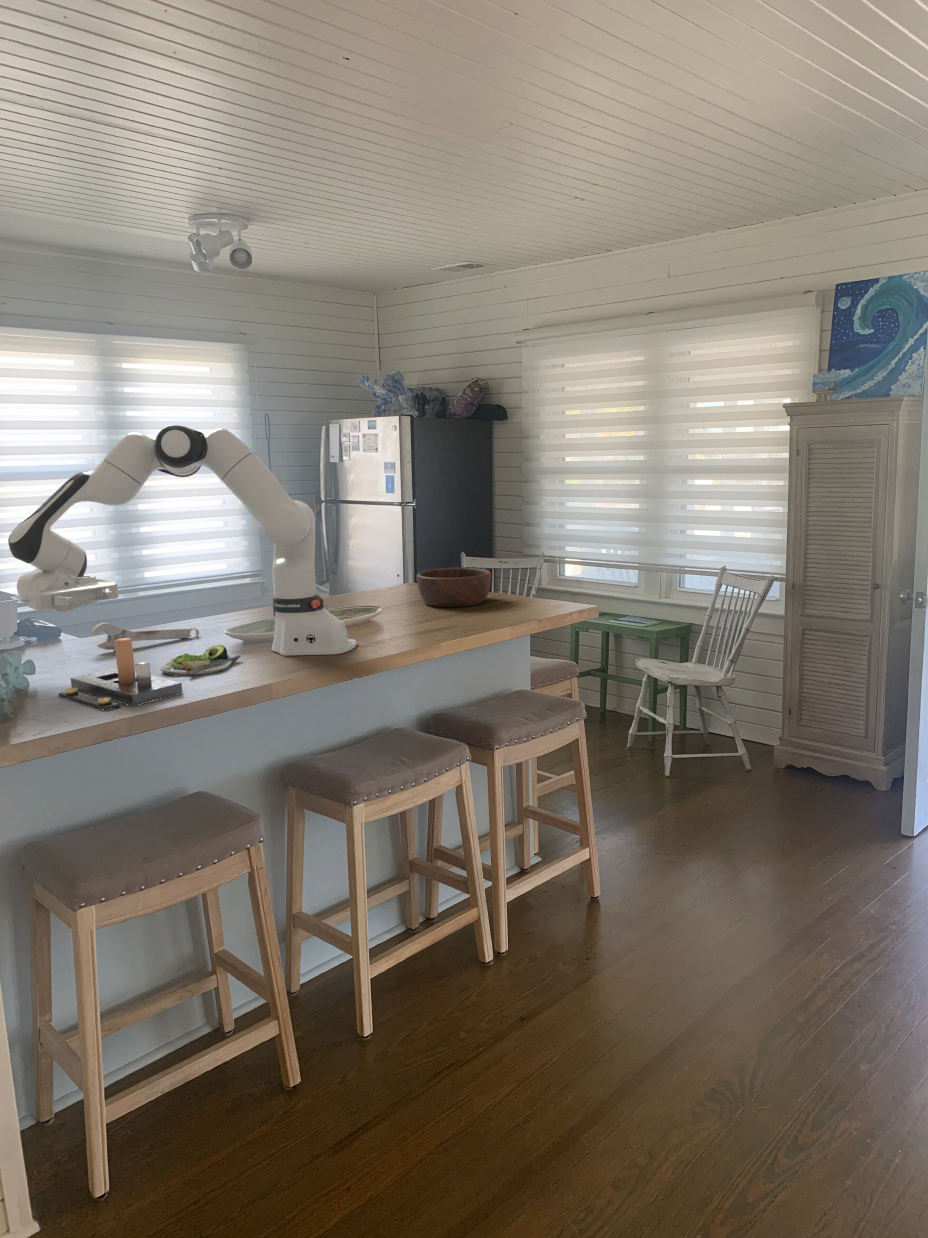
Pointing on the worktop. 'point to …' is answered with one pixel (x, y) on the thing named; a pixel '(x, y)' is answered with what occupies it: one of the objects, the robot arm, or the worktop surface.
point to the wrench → (138, 634)
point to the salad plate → (201, 662)
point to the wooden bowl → (454, 586)
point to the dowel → (125, 661)
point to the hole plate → (120, 688)
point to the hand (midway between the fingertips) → (90, 598)
